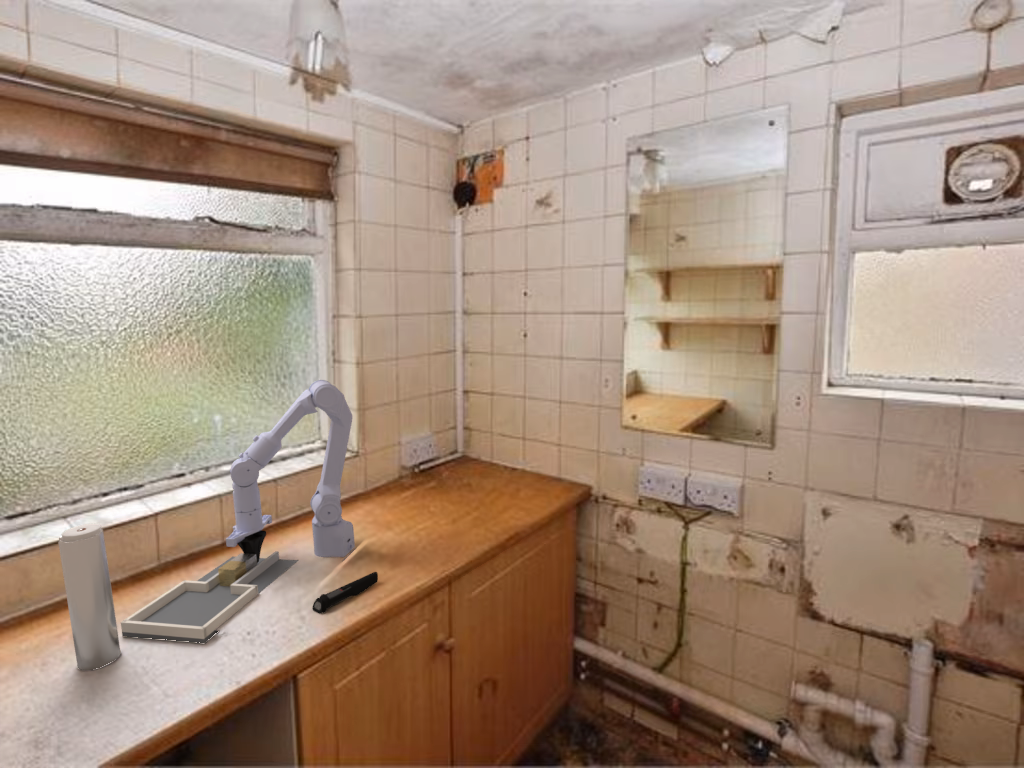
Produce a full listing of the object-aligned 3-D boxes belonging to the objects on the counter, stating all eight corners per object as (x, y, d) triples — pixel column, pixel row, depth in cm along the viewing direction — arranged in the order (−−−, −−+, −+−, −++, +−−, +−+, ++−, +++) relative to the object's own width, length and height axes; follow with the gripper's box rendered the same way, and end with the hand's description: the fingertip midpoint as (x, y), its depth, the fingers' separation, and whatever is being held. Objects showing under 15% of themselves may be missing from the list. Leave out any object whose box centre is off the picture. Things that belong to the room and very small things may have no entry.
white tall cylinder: (92, 650, 107) (73, 523, 103) (128, 647, 107) (110, 521, 104) (68, 672, 100) (47, 537, 97) (107, 669, 101) (87, 535, 97)
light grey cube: (257, 570, 135) (256, 554, 135) (247, 578, 131) (245, 561, 131) (242, 569, 136) (240, 553, 135) (231, 577, 132) (229, 560, 131)
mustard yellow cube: (247, 578, 131) (245, 561, 131) (235, 586, 127) (234, 569, 127) (231, 577, 132) (229, 560, 131) (220, 585, 128) (218, 568, 127)
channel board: (298, 564, 140) (297, 552, 139) (204, 643, 108) (202, 629, 107) (233, 560, 143) (231, 548, 143) (122, 636, 111) (120, 622, 111)
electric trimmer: (382, 586, 128) (381, 573, 128) (321, 616, 117) (320, 601, 116) (372, 581, 131) (371, 568, 130) (311, 610, 119) (310, 596, 119)
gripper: (251, 497, 143) (257, 548, 145) (211, 519, 128) (217, 576, 130) (277, 498, 141) (282, 550, 143) (239, 520, 127) (245, 578, 129)
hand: (253, 562), depth 137 cm, fingers closed
